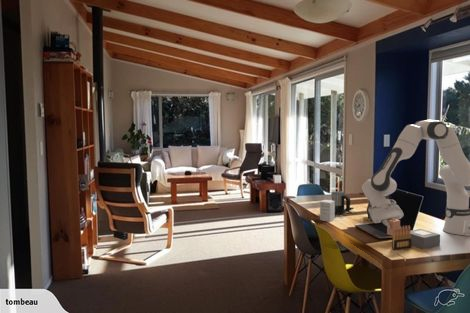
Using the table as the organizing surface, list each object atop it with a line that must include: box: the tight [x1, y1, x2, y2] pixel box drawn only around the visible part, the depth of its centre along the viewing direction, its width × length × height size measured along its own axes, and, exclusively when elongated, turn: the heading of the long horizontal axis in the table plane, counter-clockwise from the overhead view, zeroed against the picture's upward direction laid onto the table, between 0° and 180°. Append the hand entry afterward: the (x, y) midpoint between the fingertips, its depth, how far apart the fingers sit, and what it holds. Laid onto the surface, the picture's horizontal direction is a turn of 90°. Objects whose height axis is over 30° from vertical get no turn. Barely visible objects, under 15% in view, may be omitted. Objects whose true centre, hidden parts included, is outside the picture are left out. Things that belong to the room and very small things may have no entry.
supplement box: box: [319, 199, 336, 223], centre depth 260 cm, size 7×7×13 cm
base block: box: [410, 228, 441, 250], centre depth 208 cm, size 12×12×6 cm
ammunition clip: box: [391, 224, 412, 251], centre depth 202 cm, size 11×2×12 cm, turn 107°
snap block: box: [386, 218, 401, 237], centre depth 213 cm, size 5×5×9 cm
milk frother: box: [331, 191, 354, 215], centre depth 279 cm, size 14×16×15 cm
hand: (394, 226), depth 213 cm, fingers closed on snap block, 5 cm apart
